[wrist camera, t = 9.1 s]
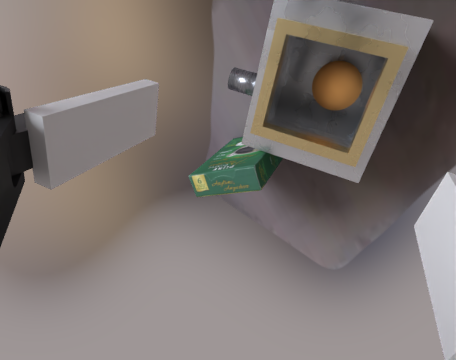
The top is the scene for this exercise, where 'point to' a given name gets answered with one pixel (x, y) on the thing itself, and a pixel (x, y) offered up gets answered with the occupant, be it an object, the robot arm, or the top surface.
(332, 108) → the bead
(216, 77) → the top surface
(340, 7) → the metal box
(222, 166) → the coffee box
